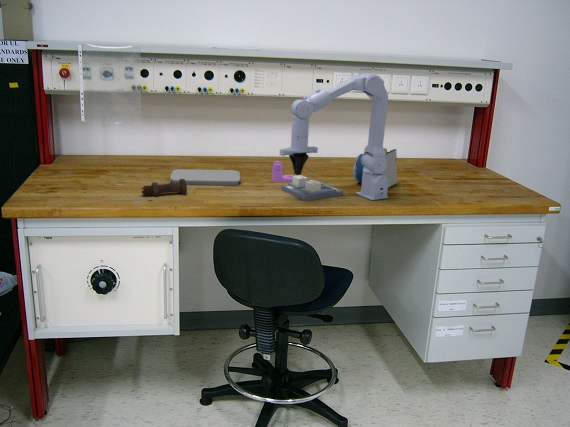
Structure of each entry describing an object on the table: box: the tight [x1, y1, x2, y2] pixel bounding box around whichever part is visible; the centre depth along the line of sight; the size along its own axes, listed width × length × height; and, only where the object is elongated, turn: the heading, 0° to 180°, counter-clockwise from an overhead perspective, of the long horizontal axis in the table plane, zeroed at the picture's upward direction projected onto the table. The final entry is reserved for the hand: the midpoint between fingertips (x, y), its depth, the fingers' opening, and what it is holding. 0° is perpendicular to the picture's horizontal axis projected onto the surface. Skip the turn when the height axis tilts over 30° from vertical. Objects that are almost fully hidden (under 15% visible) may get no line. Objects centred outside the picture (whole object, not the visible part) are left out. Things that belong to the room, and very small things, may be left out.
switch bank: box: [280, 179, 344, 202], centre depth 208 cm, size 15×17×2 cm
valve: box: [351, 147, 398, 188], centre depth 221 cm, size 13×15×15 cm
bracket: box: [271, 160, 297, 183], centre depth 222 cm, size 13×6×7 cm, turn 93°
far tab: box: [291, 174, 309, 186], centre depth 209 cm, size 4×4×4 cm
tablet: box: [170, 168, 241, 186], centre depth 218 cm, size 16×26×2 cm, turn 97°
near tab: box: [305, 179, 321, 192], centre depth 203 cm, size 4×4×4 cm
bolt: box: [140, 179, 188, 197], centre depth 196 cm, size 6×5×15 cm
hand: (297, 174), depth 197 cm, fingers closed
